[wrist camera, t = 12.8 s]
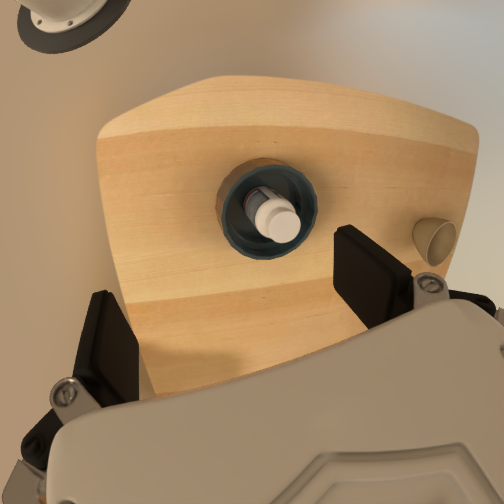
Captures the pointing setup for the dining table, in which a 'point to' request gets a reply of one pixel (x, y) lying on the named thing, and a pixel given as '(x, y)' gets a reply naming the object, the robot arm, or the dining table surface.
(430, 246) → the flower pot
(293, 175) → the bowl
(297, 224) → the pill bottle
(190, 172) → the dining table surface
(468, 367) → the robot arm
